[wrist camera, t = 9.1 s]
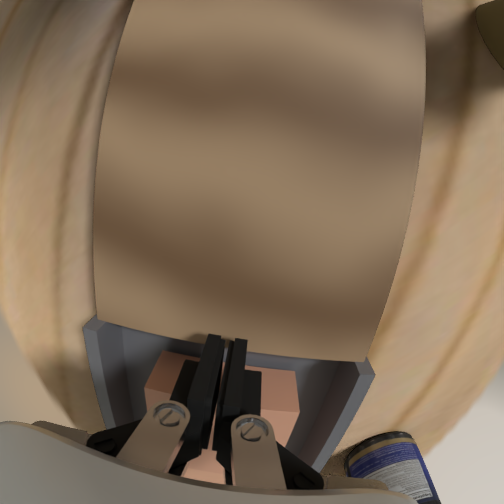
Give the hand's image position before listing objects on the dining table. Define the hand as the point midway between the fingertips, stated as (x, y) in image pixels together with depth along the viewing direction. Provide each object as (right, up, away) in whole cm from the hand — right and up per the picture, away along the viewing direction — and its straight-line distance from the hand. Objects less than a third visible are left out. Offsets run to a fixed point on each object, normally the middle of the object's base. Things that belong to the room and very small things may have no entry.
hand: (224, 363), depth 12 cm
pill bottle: (+11, -11, +6) cm, 17 cm away
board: (+2, +11, 0) cm, 12 cm away
